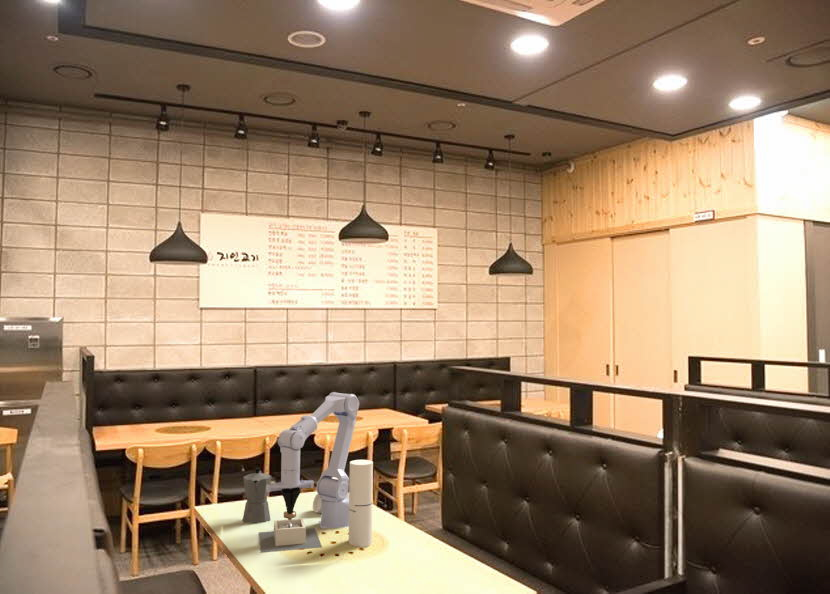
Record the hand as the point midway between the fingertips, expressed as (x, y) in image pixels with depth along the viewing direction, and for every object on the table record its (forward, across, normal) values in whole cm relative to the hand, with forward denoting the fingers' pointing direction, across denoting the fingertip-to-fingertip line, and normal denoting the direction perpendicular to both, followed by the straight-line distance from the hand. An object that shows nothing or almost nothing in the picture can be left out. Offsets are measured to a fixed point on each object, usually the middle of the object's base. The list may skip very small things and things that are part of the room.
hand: (289, 512), depth 201 cm
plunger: (+5, 0, 0) cm, 5 cm away
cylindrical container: (+9, -20, +10) cm, 24 cm away
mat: (+9, 0, 0) cm, 9 cm away
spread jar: (+9, -21, -25) cm, 34 cm away
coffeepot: (+9, +5, -25) cm, 27 cm away
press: (+8, 0, 0) cm, 8 cm away
